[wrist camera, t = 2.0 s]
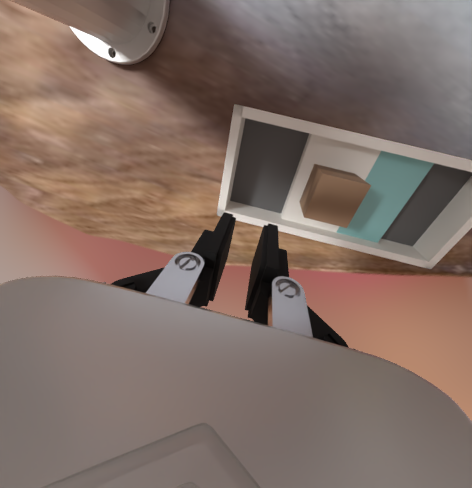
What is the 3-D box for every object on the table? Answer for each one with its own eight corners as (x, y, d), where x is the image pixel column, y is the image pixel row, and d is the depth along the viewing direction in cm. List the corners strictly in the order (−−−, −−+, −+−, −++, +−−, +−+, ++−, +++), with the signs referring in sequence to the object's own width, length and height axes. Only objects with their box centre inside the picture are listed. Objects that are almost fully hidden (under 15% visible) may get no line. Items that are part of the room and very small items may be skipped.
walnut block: (314, 163, 25) (322, 173, 20) (354, 173, 24) (371, 185, 20) (299, 201, 27) (303, 217, 23) (335, 210, 27) (346, 228, 23)
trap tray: (239, 105, 24) (234, 103, 21) (489, 164, 24) (525, 172, 20) (222, 204, 32) (216, 215, 28) (413, 252, 31) (430, 269, 27)
